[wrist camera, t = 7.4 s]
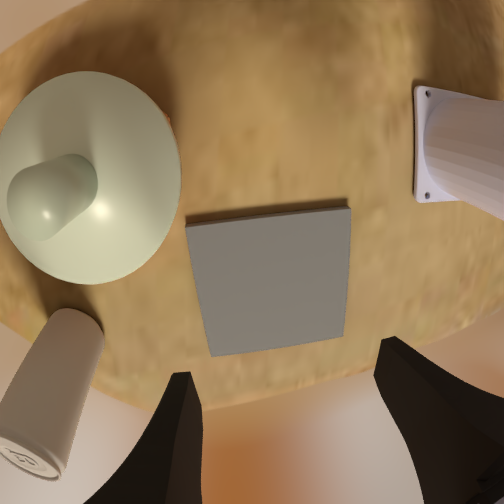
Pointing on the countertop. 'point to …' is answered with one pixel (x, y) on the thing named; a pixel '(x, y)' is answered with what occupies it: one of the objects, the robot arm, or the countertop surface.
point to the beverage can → (50, 394)
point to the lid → (88, 177)
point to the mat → (271, 278)
